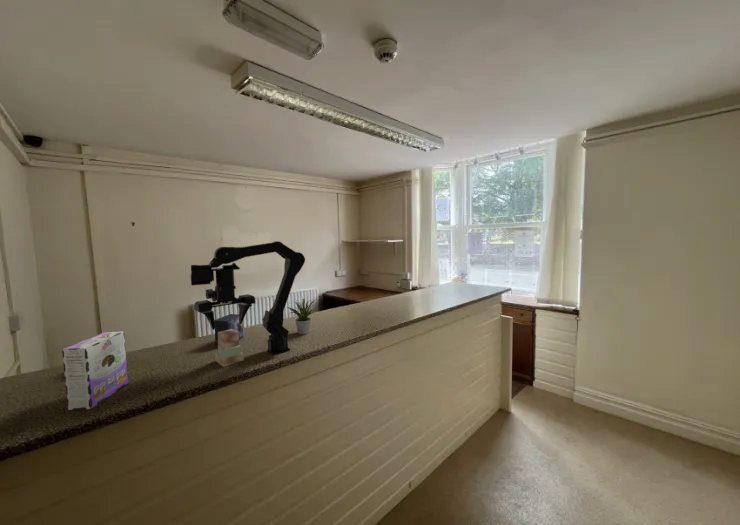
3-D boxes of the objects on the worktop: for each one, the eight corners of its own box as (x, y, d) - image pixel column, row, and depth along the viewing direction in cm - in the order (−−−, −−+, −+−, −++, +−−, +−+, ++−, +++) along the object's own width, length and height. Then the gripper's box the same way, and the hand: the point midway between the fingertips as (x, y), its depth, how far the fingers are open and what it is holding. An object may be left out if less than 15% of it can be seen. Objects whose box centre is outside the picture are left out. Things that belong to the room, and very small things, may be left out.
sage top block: (236, 349, 110) (235, 341, 110) (240, 354, 105) (240, 346, 105) (218, 353, 106) (217, 345, 106) (222, 358, 101) (222, 350, 101)
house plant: (310, 325, 148) (309, 292, 146) (326, 331, 137) (325, 296, 136) (284, 331, 138) (282, 297, 137) (299, 339, 128) (297, 301, 126)
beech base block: (235, 356, 111) (235, 348, 111) (243, 361, 106) (243, 353, 106) (215, 362, 106) (215, 354, 106) (223, 367, 101) (222, 359, 101)
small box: (228, 346, 120) (227, 320, 119) (214, 345, 122) (213, 320, 121) (244, 337, 131) (243, 314, 130) (231, 336, 132) (230, 313, 131)
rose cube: (232, 342, 109) (231, 328, 108) (239, 345, 106) (238, 331, 105) (218, 346, 105) (217, 332, 105) (224, 349, 102) (224, 335, 101)
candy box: (109, 384, 90) (104, 331, 88) (129, 383, 90) (125, 330, 89) (66, 410, 76) (60, 348, 75) (91, 409, 76) (85, 347, 75)
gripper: (242, 278, 116) (244, 317, 117) (188, 283, 102) (190, 327, 104) (255, 280, 108) (256, 322, 109) (198, 287, 95) (200, 335, 96)
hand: (227, 326), depth 105 cm, fingers open, 9 cm apart
